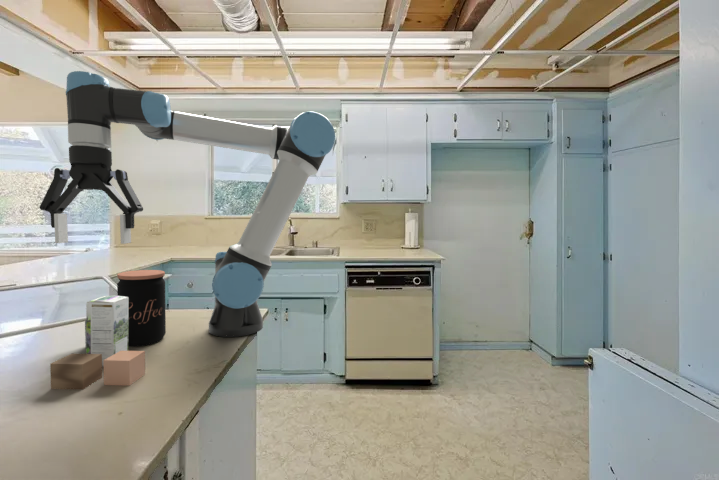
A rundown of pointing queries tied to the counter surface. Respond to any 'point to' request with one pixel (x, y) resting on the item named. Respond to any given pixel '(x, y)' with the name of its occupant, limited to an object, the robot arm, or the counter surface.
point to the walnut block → (76, 371)
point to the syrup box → (107, 325)
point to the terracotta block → (124, 367)
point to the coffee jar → (144, 305)
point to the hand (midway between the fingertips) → (94, 243)
